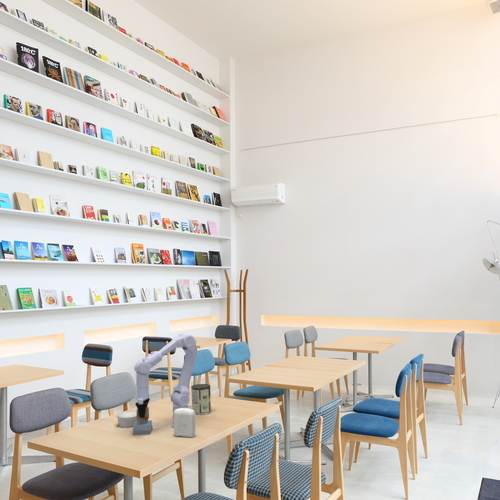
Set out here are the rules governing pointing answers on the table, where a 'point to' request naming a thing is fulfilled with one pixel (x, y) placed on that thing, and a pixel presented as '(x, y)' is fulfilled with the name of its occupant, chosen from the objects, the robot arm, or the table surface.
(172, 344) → the robot arm
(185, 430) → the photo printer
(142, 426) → the tower top
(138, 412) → the walnut cube
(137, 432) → the tower base
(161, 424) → the table surface
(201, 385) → the coffee can
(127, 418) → the ramekin
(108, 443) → the table surface
